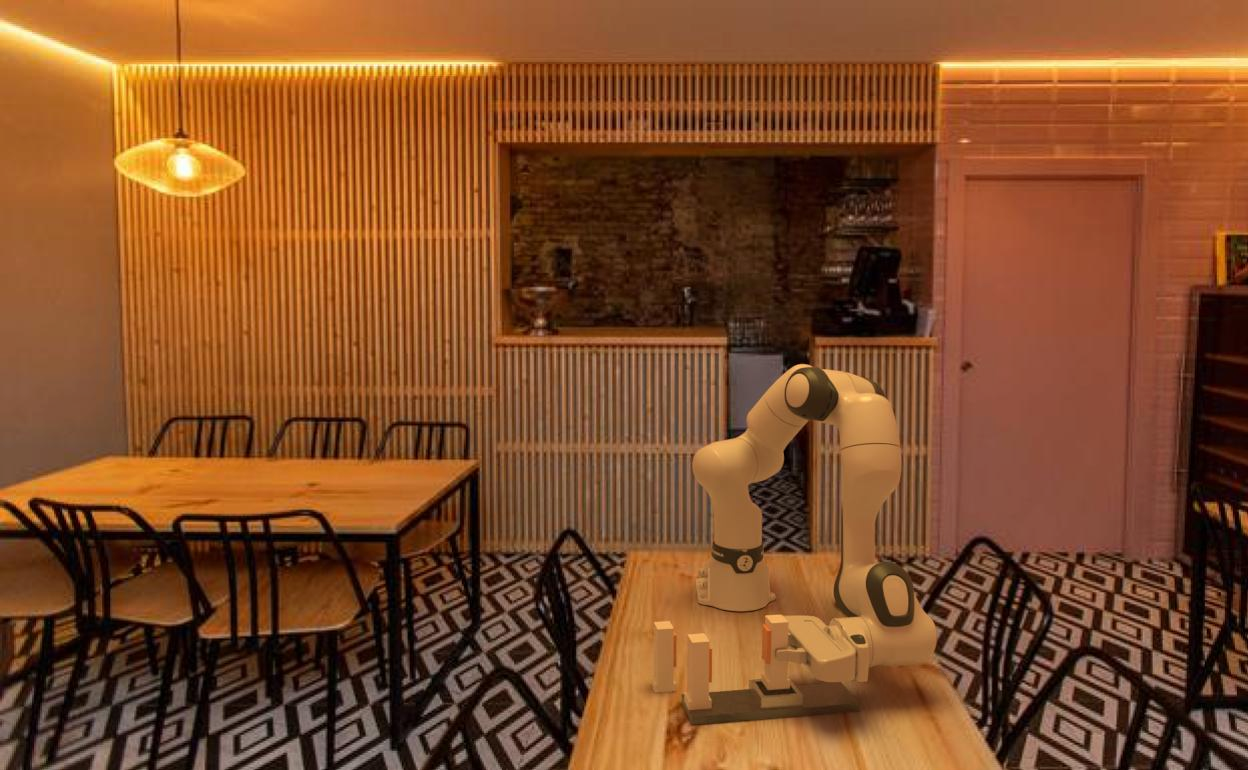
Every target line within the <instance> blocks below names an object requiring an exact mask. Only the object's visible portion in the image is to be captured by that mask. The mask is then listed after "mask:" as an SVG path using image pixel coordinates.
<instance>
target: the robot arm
mask: <svg viewBox="0 0 1248 770" xmlns="http://www.w3.org/2000/svg"><path fill="white" fill-rule="evenodd" d="M809 421H814V422H818V423H822V424H826V425H829V426H833V425H835V426H836V428H837V430H838V433H839V442H840V443H839V445H840V446H839V447H840V462H841V508H840V515H841V516H840V563H839V564H840V566H839V569H838V572H837V575H836V579H835V581H834V585H833V598H834V602H835V605H836V606H837V608H838V609H839V610H840V612H841V613H842V614H843V615H844V616H845V617H835V618H832V619H831V620H830V622H829V624H828V623H827V622H826V621H823V620H822V619H820V618H819V617H817V616H814V615H782V616H783V617H784V618H785V619H786V620H787V621H788V649H786V648H785V647H783V648H776V649H775V657H776V659H777V660H778V661H788V662H790V663H795V664H804V666H805V667H806V668H807V669H808V671H809V672H810V673H811V674H812V675H813V677H814V678H815V679H816V680H818V681H821V682H823V683H834V682H842V683H845V682H852V681H855V682H857V683H865V682H868V679H869V671H870V670H869V669H870V668H873V667H875V666H883V667H887V668H890V667H899V666H907V665H914V664H917V663H922V662H923V661H927V659H929V658H930V657H931V656H932V655H933V654H934V652H935V650H936V647H937V641H938V634H937V628H936V624H935V623H934V621H933V620H934V619H932V617H930V616H929V615H928V613H926V612H925V611H924V609H923V608H922V606H921V603H920V601H919V600H918V598H917V596H916V593H915V590H914V589H915V588H914V583H913V580H912V578H911V576H910V575H909V573H908V572H907V571H906V570H905V568H903V567H902V566H900V565H899V564H897V563H894V562H891V561H881V562H877V563H875V524H876V519H877V515H878V513H879V511H880V510H881V507H882V506H883V504H884V503H885V502H886V501H887V499H888V498H889V497H890V496H891V494H893V492H895V490H896V489H897V487H898V485H899V484H900V481H901V477H902V476H901V474H902V450H901V443H900V442H901V441H900V436H899V435H900V434H899V430H898V425H897V424H898V423H897V420H896V416H895V413H894V410H893V406H892V404H891V403H890V401H889V400H888V399H887V398H886V394H885V391H884V390H883V388H882V387H881V386H880V384H878V383H877V382H876V381H874V380H872V379H870V378H868V377H865V376H860V375H856V374H854V373H850V372H847V371H843V370H835V369H834V370H833V369H828V368H827V369H826V368H825V369H824V368H821V367H816V366H812V365H810V364H805V363H800V364H796V365H793V366H792V367H791V368H789V369H788V370H787V371H786V372H784V373H783V374H782V375H780V377H778V378H777V379H776V380H775V382H774V383H772V385H771V386H770V387H769V388H768V389H767V390H766V391H765V393H763V395H762V396H761V397H760V399H759V400H758V401H757V402H756V403H755V404H754V406H753V407H752V408H751V409H750V410H749V412H748V413H747V416H746V425H747V428H746V430H745V431H744V432H743V433H742V434H741V435H739V436H737V437H733V438H729V439H724V440H718V441H714V442H711V443H709V444H706V445H705V446H703V447H701V448H699V449H698V450H697V451H696V452H695V454H694V456H693V459H692V463H691V464H692V472H693V473H692V474H693V476H694V478H695V480H696V481H697V483H698V484H699V485H700V486H701V487H702V488H703V489H704V490H705V491H706V492H707V494H708V496H709V499H710V502H711V504H712V509H713V521H714V522H713V525H714V527H713V528H714V529H713V531H714V532H713V535H714V536H713V537H714V538H713V539H714V540H713V541H712V545H711V551H710V553H711V556H710V557H709V558H708V559H707V560H706V562H704V567H700V568H698V577H699V578H696V579H695V591H696V598H697V603H698V604H701V605H702V606H703V605H704V606H705V605H706V606H711V607H713V608H717V609H720V610H725V611H732V612H750V611H756V610H760V609H762V608H765V607H766V606H767V605H768V604H770V602H774V601H775V600H776V599H777V597H776V594H775V593H774V592H773V591H771V585H770V583H771V581H770V567H769V565H768V564H767V563H766V562H765V561H764V552H765V548H764V543H763V542H762V539H763V537H762V535H763V512H762V510H761V508H760V507H759V505H757V504H756V503H754V502H753V501H752V499H751V496H750V492H749V491H750V490H749V485H751V484H754V483H759V482H763V481H766V480H767V479H769V478H771V477H773V476H774V475H776V474H777V473H779V472H780V471H781V469H782V467H783V465H784V461H785V455H784V451H785V450H786V448H787V446H788V445H789V444H790V442H791V441H792V440H793V438H795V437H796V435H797V434H798V433H799V432H800V431H801V429H803V427H805V425H806V424H807V423H808V422H809ZM789 648H790V649H789Z"/></svg>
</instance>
